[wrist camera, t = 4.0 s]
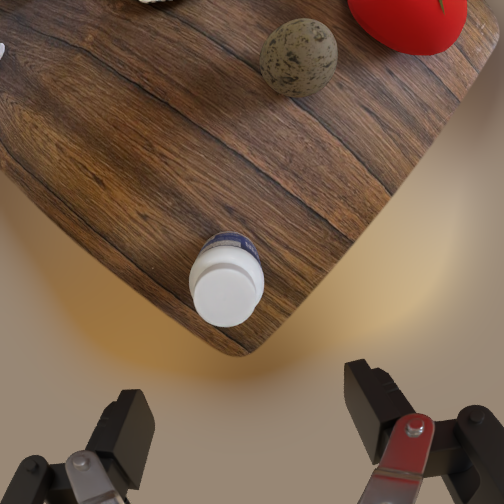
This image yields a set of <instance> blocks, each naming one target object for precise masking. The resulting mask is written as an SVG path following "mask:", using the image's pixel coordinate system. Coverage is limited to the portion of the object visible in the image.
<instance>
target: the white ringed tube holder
mask: <svg viewBox="0 0 504 504" xmlns="http://www.w3.org/2000/svg"><path fill="white" fill-rule="evenodd" d="M4 50H5V46H4V44H3V43H0V59H1V57H2V55H3V53H4Z"/></svg>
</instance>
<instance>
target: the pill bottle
mask: <svg viewBox="0 0 504 504" xmlns="http://www.w3.org/2000/svg"><path fill="white" fill-rule="evenodd" d="M189 288H190V292H191V295H192V298H193V301H194V305H195V308H196V310H197V312H198V314H199V315H200V316H201V317H202V318H203V319H204V320H205V321H207V322H208V323H210V324H212V325H215V326H219V327H231V326H236V325H238V324H240V323H242V322H244V321H245V320H246V319H248V317H249V316H250V315H251V314H252V312H253V310H254V308H255V306H256V305H257V304H258V302H259V301H260V299H261V297H262V294H263V290H264V275H263V271H262V267H261V263H260V259H259V256H258V253H257V250H256V248H255V246H254V245H253V243H252V242H251V241H250V240H249V239H248V238H247V237H246V236H244V235H242V234H240V233H237V232H230V231H227V232H221V233H218V234H216V235H214V236H212V237H211V238H209V239H208V240H207V242H206V243H205V244H204V245H203V247H202V249H201V251H200V253H199V254H198V256H197V258H196V260H195V262H194V264H193V266H192V268H191V272H190V276H189Z"/></svg>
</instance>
